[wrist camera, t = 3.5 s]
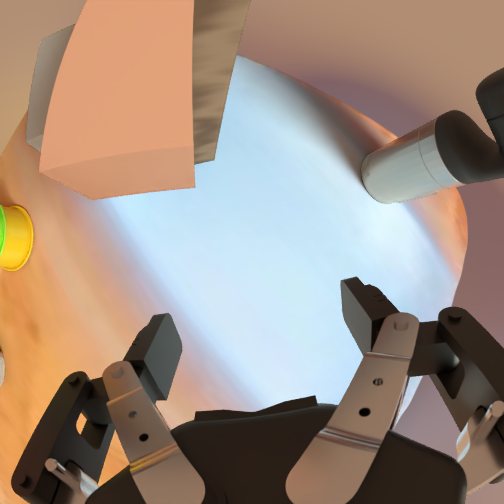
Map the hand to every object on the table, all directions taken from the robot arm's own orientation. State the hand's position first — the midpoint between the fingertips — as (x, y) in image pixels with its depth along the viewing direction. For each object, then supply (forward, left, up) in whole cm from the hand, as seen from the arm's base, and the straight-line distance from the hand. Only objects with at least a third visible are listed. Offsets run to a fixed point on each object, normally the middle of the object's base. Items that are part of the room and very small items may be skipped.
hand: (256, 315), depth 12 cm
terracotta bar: (+10, -15, +5) cm, 19 cm away
